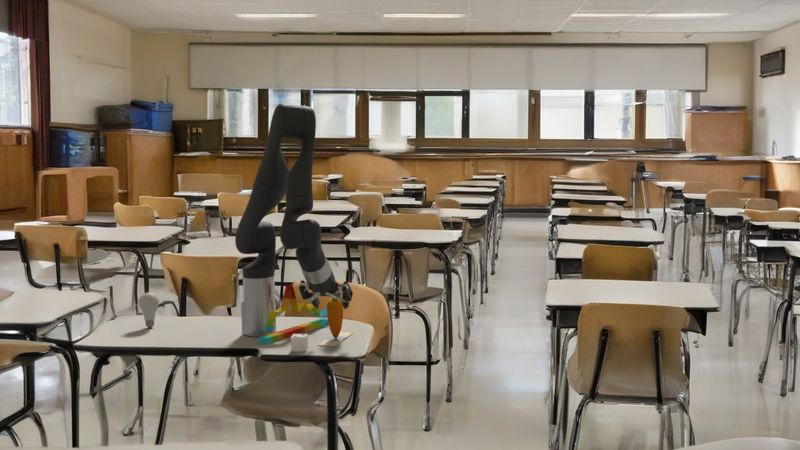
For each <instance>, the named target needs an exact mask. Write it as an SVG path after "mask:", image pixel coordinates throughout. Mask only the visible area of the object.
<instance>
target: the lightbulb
mask: <svg viewBox="0 0 800 450" xmlns="http://www.w3.org/2000/svg"><path fill="white" fill-rule="evenodd" d="M159 305H160V300H159V296H158V295H156V293H154V292H145V293H143V294H141V296H140V297H139V299H138V306H139V308H140V310H141V311H142V314H143V318H144V323H145V327H147V328H149V329H152V328H153V327H154V326H155V319H156V312H157V310H158V308H159Z"/></svg>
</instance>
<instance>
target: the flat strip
mask: <svg viewBox="0 0 800 450" xmlns="http://www.w3.org/2000/svg"><path fill="white" fill-rule="evenodd" d="M353 334H354V332H347V331H344V332H343V331H340V333H339V336H338V337H337V338H336V339H335V338H334V337H333V335H332V334H331V335H330V336H329V337H328V338H327V337H326V339H324V340H322V342H320V343H318V344H317V346H320V347H336V346H338V345H339V344H341V343H342V342H343V341H345V340H346V339H348V338H349V337H350V336H352V335H353Z"/></svg>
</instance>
